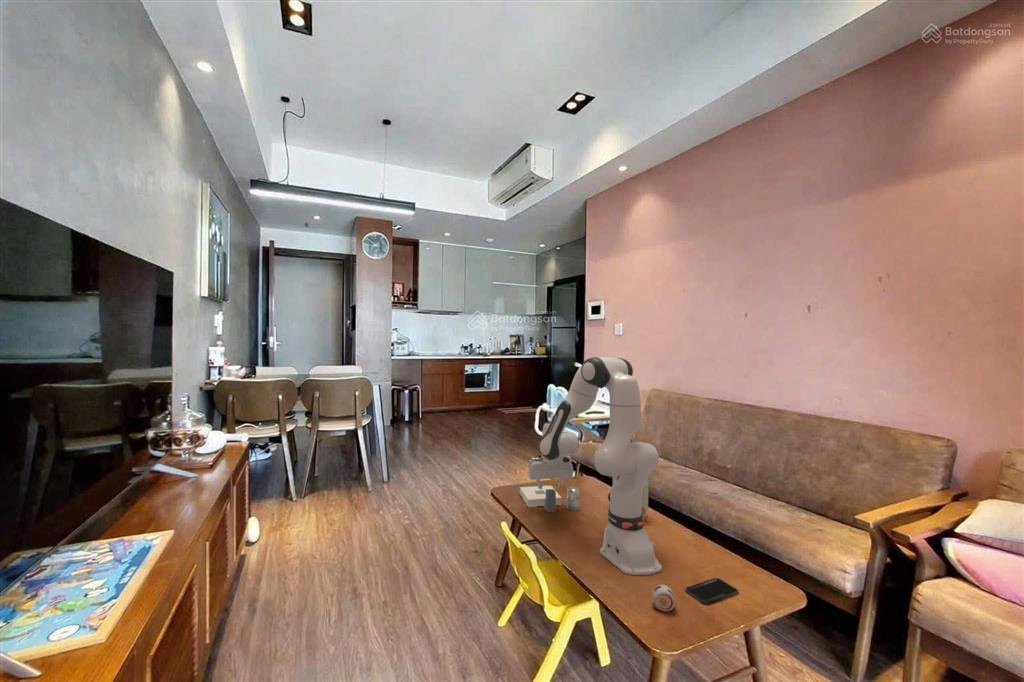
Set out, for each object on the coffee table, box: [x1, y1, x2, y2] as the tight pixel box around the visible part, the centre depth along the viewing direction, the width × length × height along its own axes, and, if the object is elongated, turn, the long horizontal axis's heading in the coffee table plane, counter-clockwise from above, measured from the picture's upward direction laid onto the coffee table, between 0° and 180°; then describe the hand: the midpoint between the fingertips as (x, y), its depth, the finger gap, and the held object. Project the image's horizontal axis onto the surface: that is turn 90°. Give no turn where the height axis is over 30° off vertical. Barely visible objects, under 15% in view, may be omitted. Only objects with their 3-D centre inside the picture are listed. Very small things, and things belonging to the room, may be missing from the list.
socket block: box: [519, 485, 563, 508], centre depth 194 cm, size 16×16×4 cm
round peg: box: [566, 485, 580, 512], centre depth 184 cm, size 6×6×9 cm
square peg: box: [544, 488, 557, 513], centre depth 181 cm, size 4×4×9 cm
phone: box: [685, 577, 739, 606], centre depth 124 cm, size 8×1×15 cm
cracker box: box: [612, 476, 649, 522], centre depth 174 cm, size 14×6×21 cm, turn 97°
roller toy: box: [651, 584, 676, 612], centre depth 116 cm, size 4×6×6 cm
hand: (550, 487), depth 182 cm, fingers open, 8 cm apart
